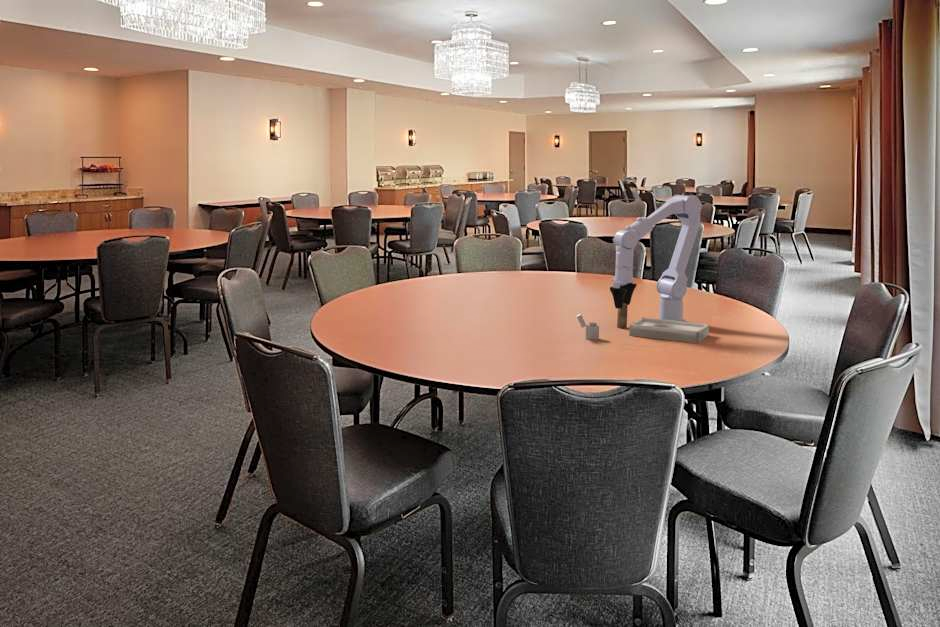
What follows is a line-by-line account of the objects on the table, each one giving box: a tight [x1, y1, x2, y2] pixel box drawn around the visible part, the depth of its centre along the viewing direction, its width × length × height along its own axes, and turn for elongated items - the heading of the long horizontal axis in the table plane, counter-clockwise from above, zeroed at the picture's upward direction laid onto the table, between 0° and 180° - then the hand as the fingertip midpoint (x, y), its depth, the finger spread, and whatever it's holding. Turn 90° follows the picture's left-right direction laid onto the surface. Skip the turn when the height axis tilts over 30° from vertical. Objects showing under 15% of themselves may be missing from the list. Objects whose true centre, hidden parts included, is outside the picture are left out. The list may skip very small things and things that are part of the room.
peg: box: [616, 303, 629, 329], centre depth 244 cm, size 3×3×8 cm
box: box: [628, 317, 710, 344], centre depth 233 cm, size 13×22×4 cm, turn 59°
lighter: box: [576, 313, 600, 341], centre depth 228 cm, size 7×2×8 cm, turn 81°
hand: (622, 306), depth 243 cm, fingers open, 7 cm apart
